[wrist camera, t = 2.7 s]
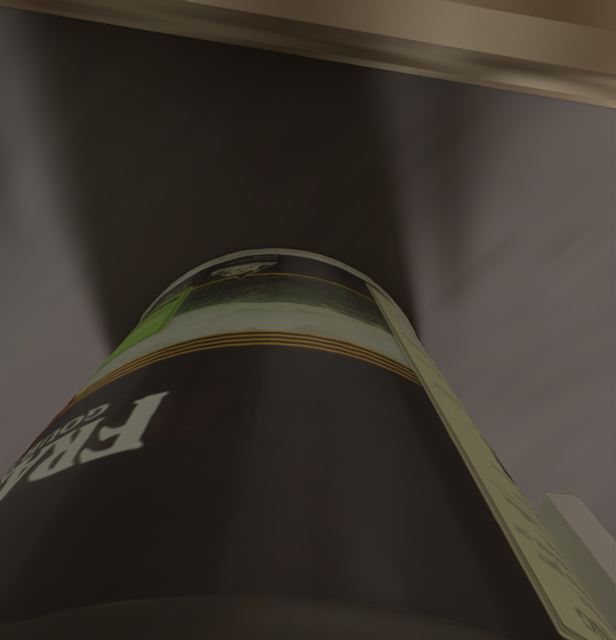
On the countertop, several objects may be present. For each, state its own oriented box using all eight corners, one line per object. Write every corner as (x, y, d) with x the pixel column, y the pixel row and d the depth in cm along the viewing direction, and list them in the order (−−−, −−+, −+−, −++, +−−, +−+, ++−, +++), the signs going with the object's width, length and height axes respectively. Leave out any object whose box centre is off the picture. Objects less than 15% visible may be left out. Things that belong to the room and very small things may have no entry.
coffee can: (64, 429, 18) (-617, 1263, 4) (237, 177, 16) (-93, 334, 2) (306, 570, 20) (340, 1424, 7) (490, 367, 18) (1123, 1046, 4)
